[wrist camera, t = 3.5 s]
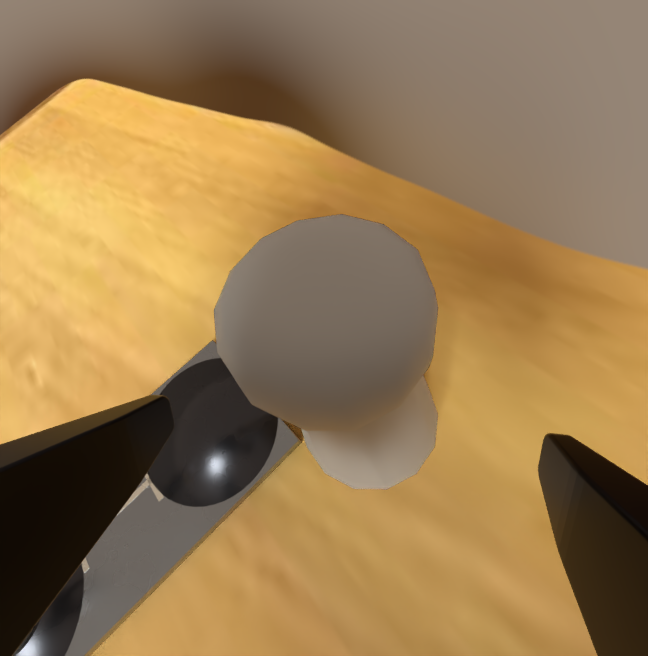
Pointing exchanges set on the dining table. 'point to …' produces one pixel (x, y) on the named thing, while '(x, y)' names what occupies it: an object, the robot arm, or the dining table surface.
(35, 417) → the dining table surface
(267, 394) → the salt shaker
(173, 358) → the dining table surface
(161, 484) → the plate
